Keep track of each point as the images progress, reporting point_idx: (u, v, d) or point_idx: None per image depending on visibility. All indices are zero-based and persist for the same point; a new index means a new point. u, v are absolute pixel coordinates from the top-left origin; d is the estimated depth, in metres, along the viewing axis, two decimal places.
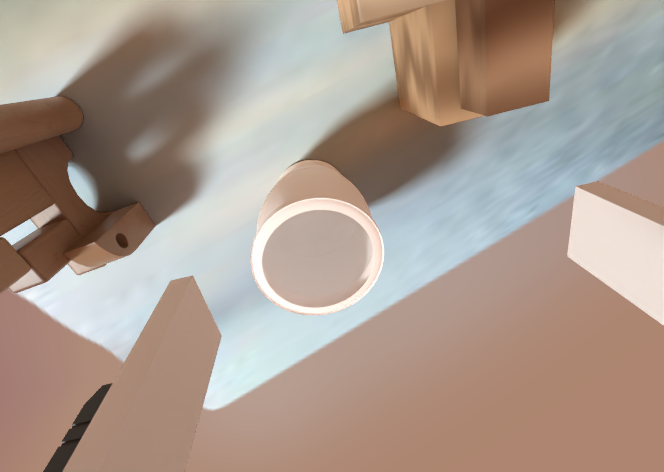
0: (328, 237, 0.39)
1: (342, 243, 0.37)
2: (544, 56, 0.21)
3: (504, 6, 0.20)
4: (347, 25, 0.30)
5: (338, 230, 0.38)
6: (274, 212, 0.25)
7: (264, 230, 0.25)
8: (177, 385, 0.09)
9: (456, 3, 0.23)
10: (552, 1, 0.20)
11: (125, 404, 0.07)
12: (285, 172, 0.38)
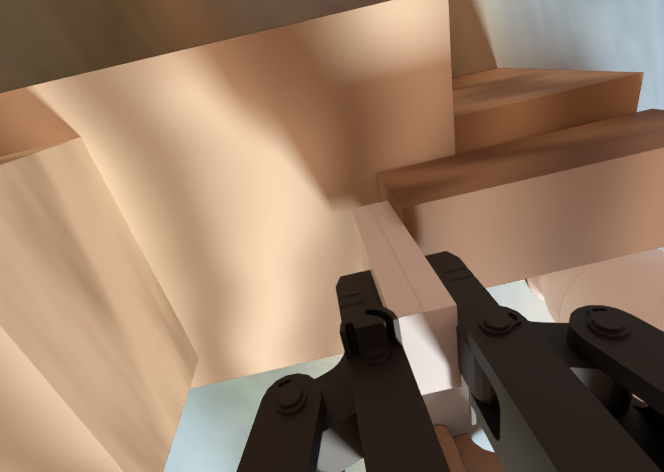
0: None
1: None
2: None
3: (579, 241, 0.13)
4: None
5: None
6: None
7: None
8: None
9: None
10: (600, 166, 0.11)
11: (397, 272, 0.09)
12: (535, 293, 0.33)
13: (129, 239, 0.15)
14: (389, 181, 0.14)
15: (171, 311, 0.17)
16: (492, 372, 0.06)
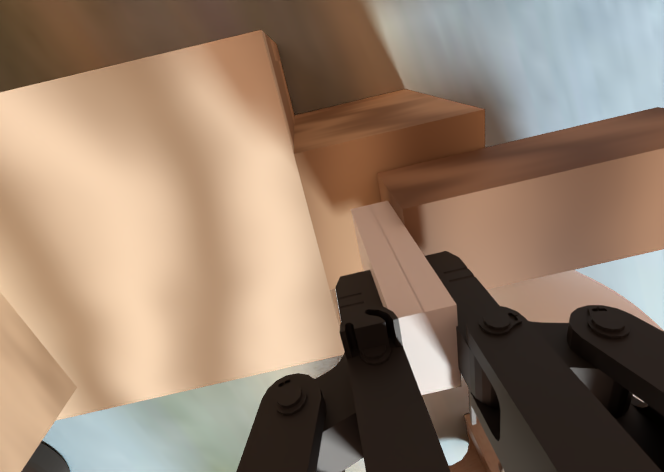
0: None
1: None
2: None
3: (583, 242, 0.12)
4: None
5: None
6: None
7: None
8: None
9: None
10: (604, 166, 0.11)
11: (398, 272, 0.09)
12: None
13: None
14: (390, 181, 0.14)
15: (36, 343, 0.17)
16: (491, 372, 0.06)
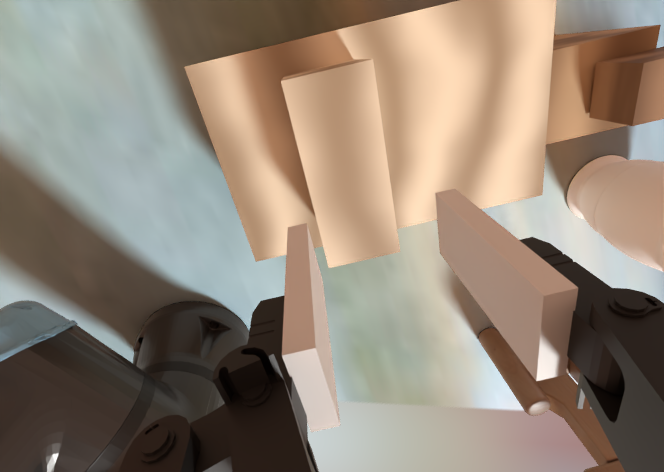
0: None
1: None
2: None
3: None
4: None
5: None
6: None
7: None
8: (319, 303, 0.11)
9: None
10: None
11: (306, 301, 0.09)
12: (572, 210, 0.44)
13: None
14: (613, 62, 0.25)
15: None
16: (620, 350, 0.06)
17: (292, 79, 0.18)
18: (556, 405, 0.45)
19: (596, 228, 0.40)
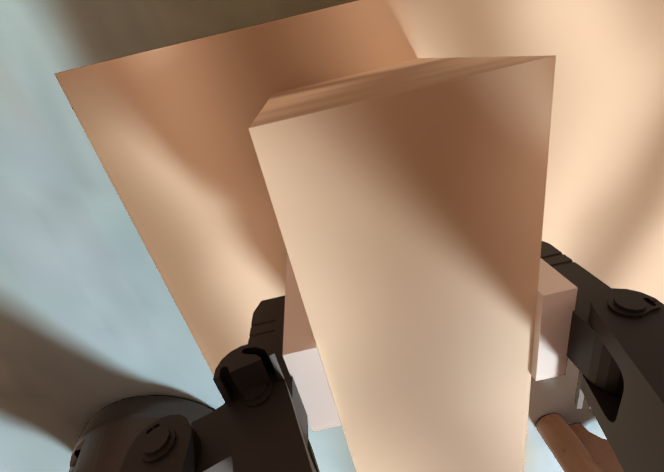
0: None
1: None
2: None
3: None
4: None
5: None
6: None
7: None
8: None
9: None
10: None
11: None
12: None
13: None
14: None
15: None
16: (620, 350, 0.06)
17: (287, 122, 0.06)
18: None
19: None
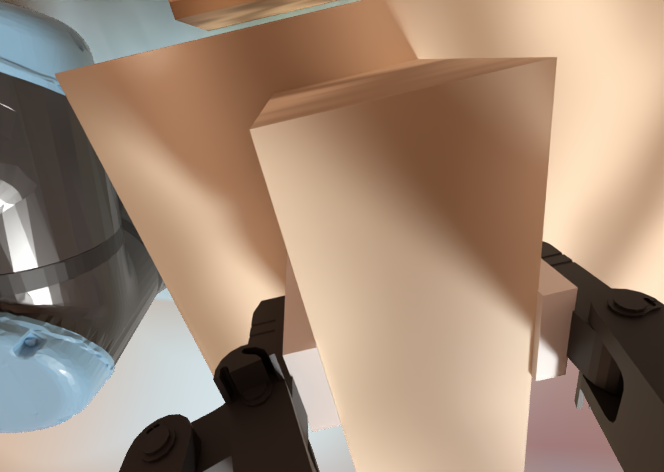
0: None
1: None
2: None
3: None
4: None
5: None
6: None
7: None
8: None
9: None
10: None
11: None
12: None
13: None
14: None
15: None
16: (620, 350, 0.06)
17: (288, 123, 0.06)
18: None
19: None
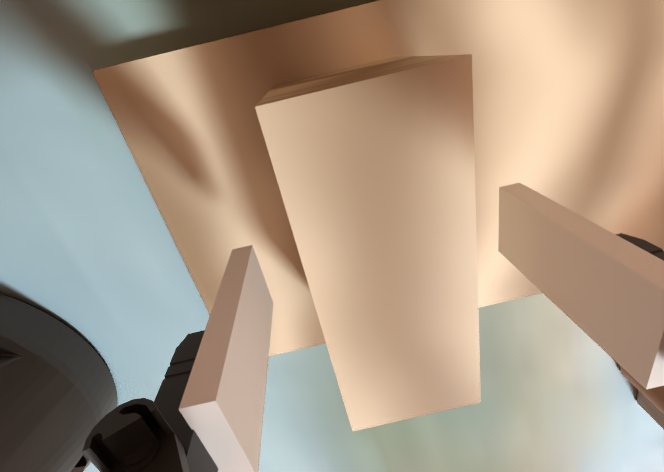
0: None
1: None
2: None
3: None
4: None
5: None
6: None
7: None
8: (252, 335, 0.10)
9: None
10: None
11: (224, 341, 0.08)
12: None
13: None
14: None
15: None
16: None
17: (282, 102, 0.08)
18: None
19: None
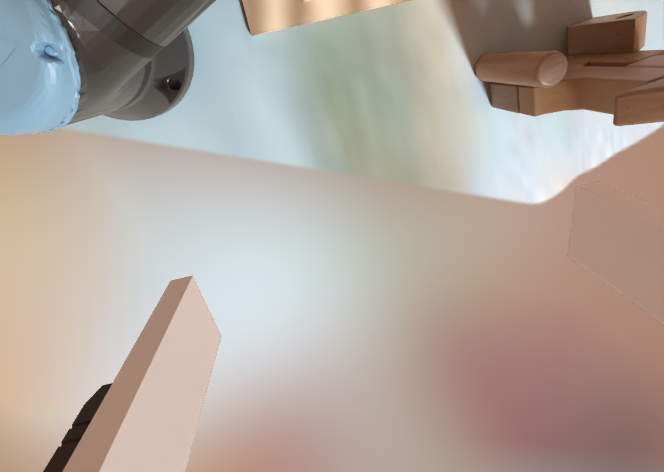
0: None
1: None
2: None
3: None
4: None
5: None
6: None
7: None
8: (177, 385, 0.09)
9: None
10: None
11: (125, 404, 0.07)
12: None
13: None
14: None
15: None
16: None
17: None
18: (573, 90, 0.35)
19: None
